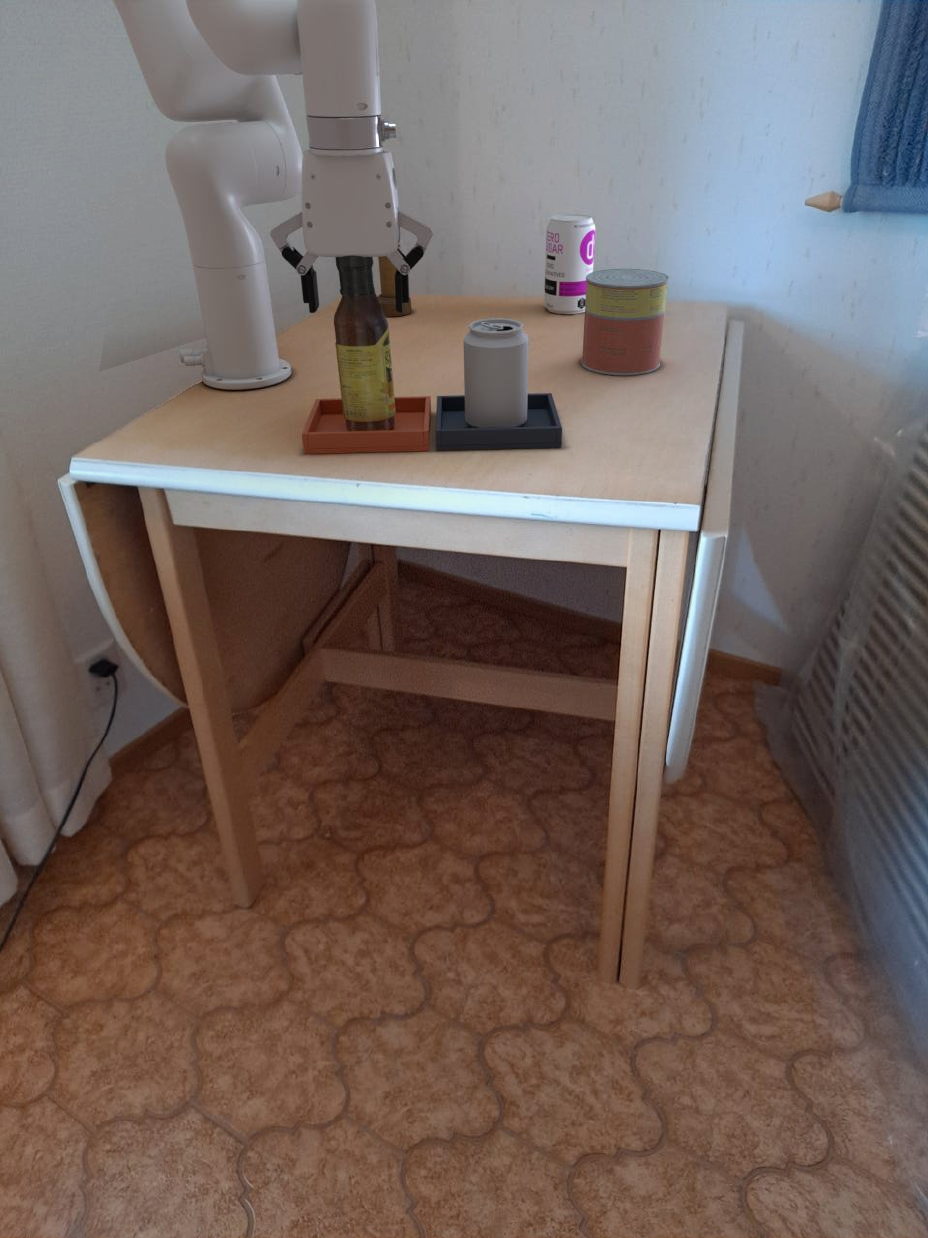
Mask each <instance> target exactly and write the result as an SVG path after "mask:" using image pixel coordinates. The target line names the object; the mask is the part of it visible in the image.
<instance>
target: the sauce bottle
mask: <svg viewBox="0 0 928 1238" xmlns="http://www.w3.org/2000/svg"><path fill="white" fill-rule="evenodd" d="M334 259H335V266H336V268H337V271H338V278H339V286H340V287H339V293H340V295H341V298H340V300H339V303H338V305H337V308H336V309H335V310H336V311H334V316H333V328H334V334H335V335H334V336H335V337H334V338H335V343H334V344H335V354H336V361H337V370H338V378H339V380H338V381H339V388H340V396H341V397H340V398H342V405H343V414H344V419H345V418H346V427H347V430H348V431H382V430H391V429H392V428H393V427H394V425H395V418H394V415H395V413H396V411H395V399H394V397H395V389H394V376H393V375H394V374H393V363H392V353H391V339H390V327H389V322H388V320H387V318H386V316H385V315H384V313H383V310H382V308H381V305H380V303H379V300H378V298H377V297H378V295H377V293H376V288H375V284H374V274H373V266H374V257H362V256H353V255H351V256H343V257H334Z"/></svg>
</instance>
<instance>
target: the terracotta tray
mask: <svg viewBox="0 0 928 1238" xmlns="http://www.w3.org/2000/svg"><path fill="white" fill-rule="evenodd" d="M431 398H432V397H431V395H426V396H425V395H421V396H419V395H417V396H394V399H395V411H396V413H395V415H394V418H395V425H394V427H393V428H392V429H391V430H382V431H348V430H347V427H346V418H345V419H344V414H343V405H342V397H337V398H335V397H333V398H316V399H315V401H314V403H313V405H312V408H311V411H310V413H309V416H308V418H307V421H306V423H305V426H304V428H303V430H302V433H301V437H302V438H301V439H302V445H303V453H304V455H314V454H315V455H316V454H318V455H320V454H355V453H356V454H360V453H361V454H362V453H395V452H396V453H397V452H399V453H400V452H430V447H431V444H430V443H431V429H432V428H431V427H432V399H431Z"/></svg>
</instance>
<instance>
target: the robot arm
mask: <svg viewBox="0 0 928 1238" xmlns="http://www.w3.org/2000/svg"><path fill="white" fill-rule="evenodd" d="M112 2H113V5H114V6H115V8H116V9H117V11H118V13H119V16H120V19H121V20H122V24H123V26H124V29H125V32H126V34H127V37H128V39H129V42H130V45H131V48H132V50H133V53H134V54H135V58H136V60H137V63H138V66H139V68H140V71H141V74H142V76H143V78H144V82H145V84H146V86H147V89H148V92H149V93H150V95H151V98H152V100H153V103H154V105H155V106H156V107H157V109H158V111H159V112H160V113H161V114H162V115H163V116H164V117H165V118H167V119H168V120H171V121H175V122H181V123H199V124H192V125H189V126H186V127H183V128H181V129H179V130H178V131H176V132H174V133H173V134H172V135H171V137H170V138H169V139H168V142H167V144H166V148H165V166H166V170H167V174H168V177H169V180H170V183H171V186H172V190H173V192H174V195H175V197H176V200H177V203H178V206H179V210H180V213H181V216H182V217H181V218H182V220H183V225H184V228H185V232H186V237H187V242H188V248H189V252H190V258H191V264H192V269H193V275H194V279H195V284H196V285H195V286H196V290H197V295H198V301H199V306H200V312H201V318H202V324H203V329H204V335H205V340H206V346H204V345H203V346H201V348H197V349H194V348H180V349H179V359H180V362H181V363H182V364H184V365H185V367H194V366H195V367H196V366H201V367H202V368H204V369H202V371H201V373H200V375H201V380H202V382H203V384H205V385H206V386H208V387H211V388H215V389H218V390H219V389H220V390H228V391H229V390H230V391H231V390H232V391H241V390H242V391H243V390H253V389H260V388H266V387H270V386H273V385H276V384H279V383H282V382H283V381H285V380H288V378H290V376H292V365H291V363H290V362H288V361H287V360H284V359H282V358H280V357H279V350H278V342H277V336H276V328H275V327H276V326H275V321H274V314H273V306H272V299H271V293H270V291H271V290H270V285H269V276H268V269H267V262H266V255H265V250H264V245H263V241H262V238H261V237H260V234H259V233H258V231H257V230H256V229H255V227H254V226H253V225H252V223H251V222H250V221H249V220H248V219H247V217H246V216H245V214H243V211H242V210H241V208H244V207H249V206H253V205H254V206H255V205H262V204H269V203H276V202H283V201H287V200H290V199H293V198H294V197H296V196H297V195H298V194H299V193H300V192H301V211H300V212H298V213H296V214H295V215H293V216H292V217H290V218H288V219H286V220H285V221H283V222H281V223H279V224H278V225H276V226H275V227H273V228H272V229H271V231H270V234H269V235H270V237H271V239H272V240H273V242H274V245H276V247H277V249H278V250H279V252H280V253H281V256H282V258H283V259H284V260H285V261H286V262H287V263H288V264H289V265H290V266H291V267H292V268H294V269H295V270H296V273H297V274H298V276H300V283H301V294H302V301H303V304H308V311H309V314H315V313H317V311H318V309H319V307H320V297H319V288H318V277H317V271H316V270H315V268H314V265H313V264H315V262H316V260H317V259H318V258H319V257H320V258H335V257H343V256H351V255H353V256H362V257H373V258H378V257H382V256H387V258H388V259H389V260H390V261H391V262H392V264H393V265H394V266H395V267H396V268H397V271H396V273H395V297H396V311H398V313H403V307H404V303H409V297H410V280H409V273H410V272H411V270H412V269H413V268H414V267H415V266H416V265H417V264H418V263H419V262H420V261H421V260H422V258H423V257H424V255H425V253H426V250H427V249H428V246H429V244H430V242H431V239H432V238H433V234H434V233H433V232H434V231H433V228H432V227H431V226H429V225H427V224H425V223H423V222H422V221H420V220H418V219H416V218H414V217H412V216H411V215H410V214H407V213H405V212H403V211H402V210H400V205H399V196H398V185H397V176H396V170H395V165H394V160H393V155H392V151H391V149H387V148H384V142H386V141H387V140H390V139H394V138H395V139H396V138H397V137H398V135H397V134H398V133H397V131H398V130H397V123H396V122H390V121H389V120H388V121H387V120H386V119H385V118H383V114H382V99H381V98H382V97H381V77H380V75H381V73H380V54H379V37H378V36H379V33H378V13H377V4H376V0H112ZM280 75H281V76H282V75H295V76H302V85H303V96H304V108H305V117H306V118H305V119H306V128H307V129H306V130H307V139H308V140H307V141H308V148H309V149H305V150H304V151H303V152H302V147H301V145H300V141H299V137H298V135H297V132H296V129H295V126H294V123H293V120H292V117H291V115H290V112H289V110H288V109H289V108H288V106H287V104H286V101H285V97H284V96H283V93H282V90H281V87H280V84H279V81H278V79H277V76H280ZM217 121H224V122H217ZM225 121H226V122H225ZM233 121H237V122H233ZM201 122H203V123H201ZM205 122H210V123H205ZM211 122H212V123H211ZM301 228H302V235H303V242H304V247H305V250H306V252H305V254H304V255H303V254H301V252H299V251H298V250H297V248H296V247H295V246H293V245H292V243H291V241H290V240H289V235H291V234H292V233H294V232H296V231H298V230H299V229H301ZM401 228H402V229H404V230H406V231H408V232H409V233H411V234H413V235H415V236H416V238H417V239H416V242H415V244H414V246H413V247H412V248H411V249H410V250H409V252H408V253H406V254H405V253H404V251H403V250H402V248H401V247H400V248H399V247H398V244H399V245H400V242H401Z"/></svg>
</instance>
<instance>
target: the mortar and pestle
mask: <svg viewBox="0 0 928 1238" xmlns="http://www.w3.org/2000/svg"><path fill="white" fill-rule="evenodd" d="M398 247H399V248H400V249H401V244H400V243H399V244H398ZM377 259H378V260H377V261H378V269H379V270H378V272H379V284H380V294H378V295H377V298H378V300H379V303H380V305H381V308H382V310H383V313H384V315H385V318H386V317H389V318H390V317H401V316H406V315H409V314H411V313H412V299H411V297H410V296H409V303H404V307H403V313H398V311H396V297H395V273H396V271H397V268H396V267H395V266H394V265H393V264H392V262H391V261H390V260H389V259H388V258H387V256H382V257H377Z"/></svg>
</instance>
